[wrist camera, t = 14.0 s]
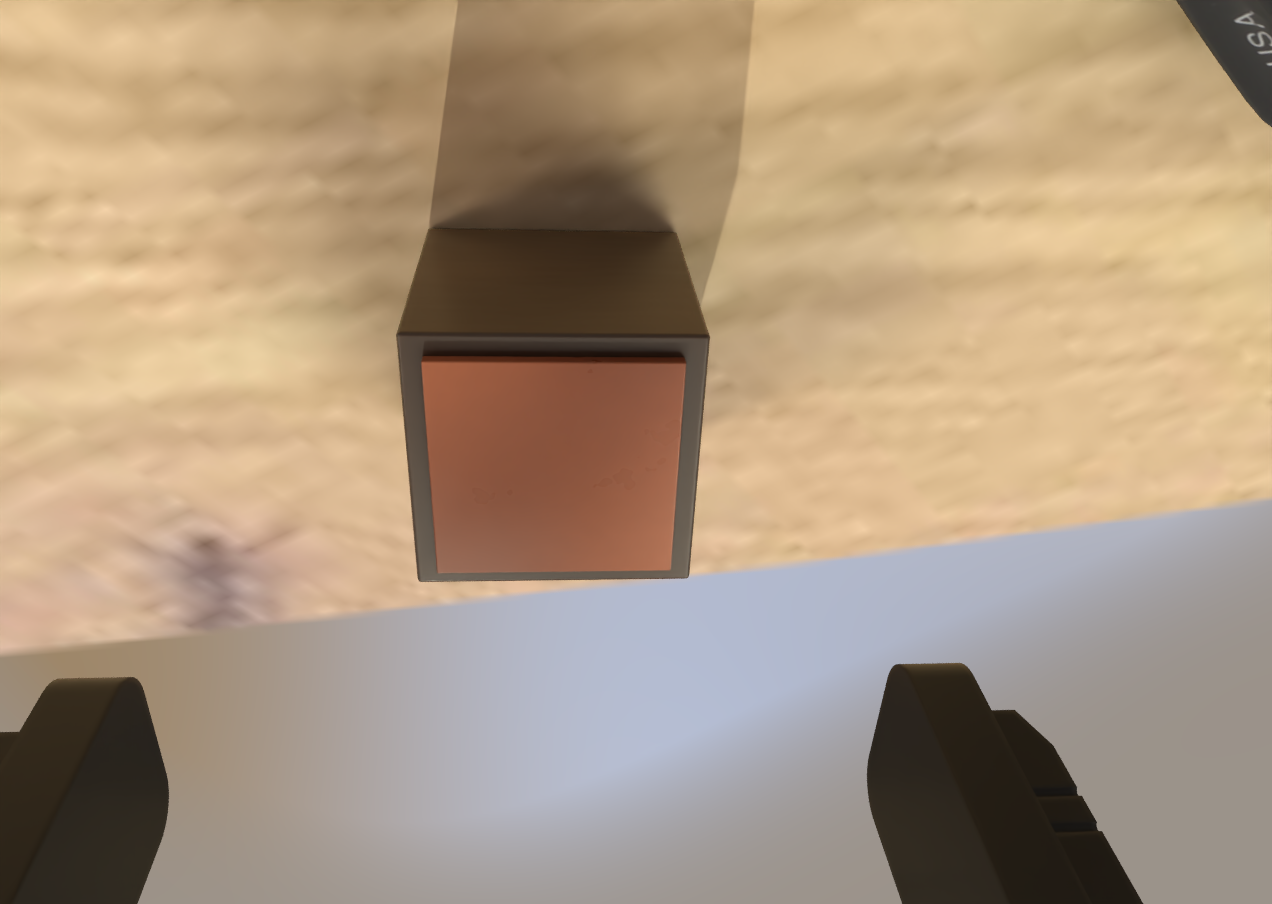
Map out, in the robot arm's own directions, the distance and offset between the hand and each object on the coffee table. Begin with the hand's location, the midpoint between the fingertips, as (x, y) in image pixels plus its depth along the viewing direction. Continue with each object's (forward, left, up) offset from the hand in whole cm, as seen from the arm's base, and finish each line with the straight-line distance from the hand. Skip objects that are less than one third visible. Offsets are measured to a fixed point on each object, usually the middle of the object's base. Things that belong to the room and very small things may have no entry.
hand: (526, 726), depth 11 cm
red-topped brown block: (0, 0, -10) cm, 10 cm away
